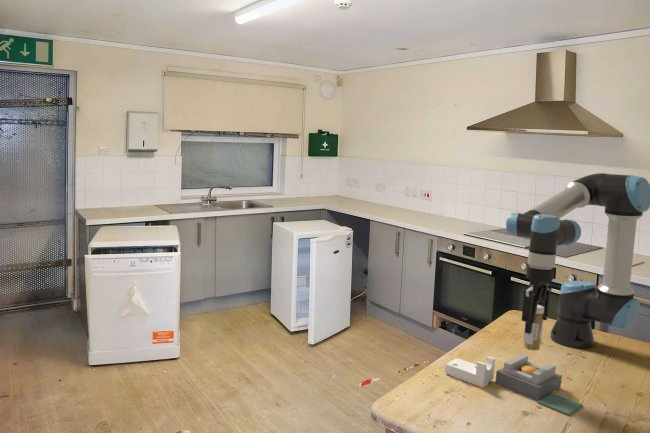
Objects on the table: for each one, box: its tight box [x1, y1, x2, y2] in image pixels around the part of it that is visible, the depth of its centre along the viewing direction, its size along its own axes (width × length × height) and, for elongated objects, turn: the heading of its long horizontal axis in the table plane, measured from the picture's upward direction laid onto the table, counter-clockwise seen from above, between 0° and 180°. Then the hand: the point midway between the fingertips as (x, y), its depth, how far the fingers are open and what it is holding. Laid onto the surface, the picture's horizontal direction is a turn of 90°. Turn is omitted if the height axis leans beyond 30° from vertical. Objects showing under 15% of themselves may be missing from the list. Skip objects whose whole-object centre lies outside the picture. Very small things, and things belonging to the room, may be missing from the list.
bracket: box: [444, 355, 496, 388], centre depth 171 cm, size 13×7×8 cm, turn 48°
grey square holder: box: [495, 353, 563, 402], centre depth 167 cm, size 14×14×7 cm
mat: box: [537, 392, 584, 417], centre depth 156 cm, size 9×9×1 cm
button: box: [521, 365, 538, 375], centre depth 167 cm, size 5×5×3 cm
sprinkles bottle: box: [523, 305, 544, 351], centre depth 164 cm, size 5×5×13 cm
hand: (532, 341), depth 165 cm, fingers closed on sprinkles bottle, 4 cm apart
